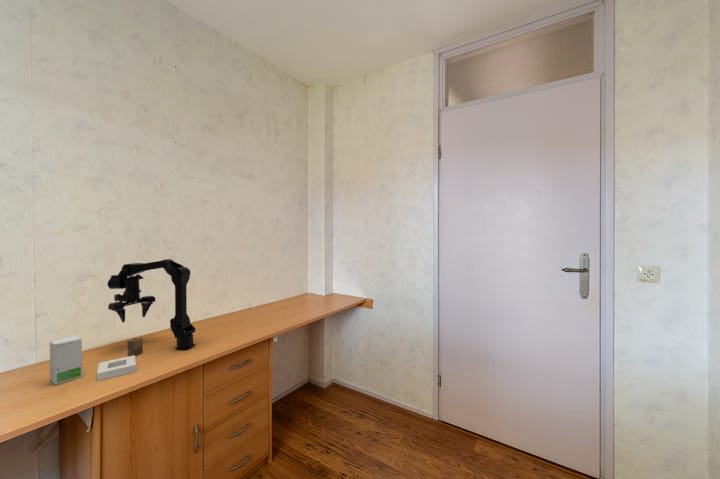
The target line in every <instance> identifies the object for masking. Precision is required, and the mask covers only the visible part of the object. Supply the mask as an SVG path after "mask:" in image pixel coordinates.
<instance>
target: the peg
mask: <svg viewBox="0 0 720 479" xmlns="http://www.w3.org/2000/svg"><path fill="white" fill-rule="evenodd" d="M143 346H144V345H143V338H142V337H134V338H131V339H130V340H127V357H129V356H134V355H135V357H137V356H140V355H141V354H143V353H144V350H143Z"/></svg>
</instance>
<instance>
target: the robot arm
mask: <svg viewBox="0 0 720 479" xmlns="http://www.w3.org/2000/svg"><path fill="white" fill-rule="evenodd" d="M157 269H164V271H165V272H166V274H168V275H169V276H170V278H171V282H172V284H173V285H174V293H175V294H174V308H175V309H174V317H173V318H171V319H170V320H169V323H170V326H169V329H170V330H171V333H173V336H174V338H175V339H176V347H175V348H174V349H175V350H178V351H180V350H181V351H187V350H190V349H191V348H193V347H195V346H196V343H194V333H195V331H196V327H195V326H194V325H193V324H192V323H191V318H190V317H189V315H188V313H187V312H188V310H187V308H188V307H187V303H188V302H187V301H188V300H187V285H188V283H189V280H190V277H191V270H190V269H189V268H188V267H186V266H184V265H182V264H180V263H178V262H176V261H174V260H173V259H171V258H167V259H163V260H158V261H151V262H147V263H146V262H145V263H142V262H132V263H125V264H123V265H122V267H121V269H120V271H119V273H118V274H112V275H110V278H108V279H109V280H108V281H107V287H108V288H109V289H110V290H122V289H123V292H122V294H120V293H117V294H115V295H114V296H113V298H114V302H110V303H109V304H108V307H107V310H110V311H112V312H116V314H117V315H118V317H119V318H120V321H121V322H122V323H125V322H126V309H125V307H127V306H128V307H129V306H131V305H132V306H133V305H137V304H140V305H141V315H142V316H141V317H142V318H146V315H147V312H148V311H149V309H150V308H151V306H152V305H153V304H154V302H157V301H156V297H155V295H145V296H141V294H140V293H142V290H141V289H140V280H143V279H144V277H143V276H142V275H141V274H142V273H145V272H146V271H150V270H157Z"/></svg>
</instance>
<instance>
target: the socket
mask: <svg viewBox="0 0 720 479" xmlns="http://www.w3.org/2000/svg"><path fill="white" fill-rule="evenodd" d="M136 372H137V363H136V356H135V355H134V356H125V357H119V358H117V359H116V358H115V359H112V360H111V359H110V360H107V361H101V362H99V363H98V365H97V372H96V375H97V376H96V377H97V378H96V379H97V382H100V381H103V380H108V379H112V378H116V377H120V376H124V375H128V374H132V373H136Z"/></svg>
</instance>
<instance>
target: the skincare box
mask: <svg viewBox="0 0 720 479" xmlns="http://www.w3.org/2000/svg"><path fill="white" fill-rule="evenodd" d="M82 377H83V339H82V337H80V336H78V335H75V336H70V337H65V338H59V339H55V340H51V341H49V381H50V382H51V383H52V384H54V386H55V385H56V386H57V385H59V384H62V383H66V382H69V381H73V380H76V379H79V378H82Z"/></svg>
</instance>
